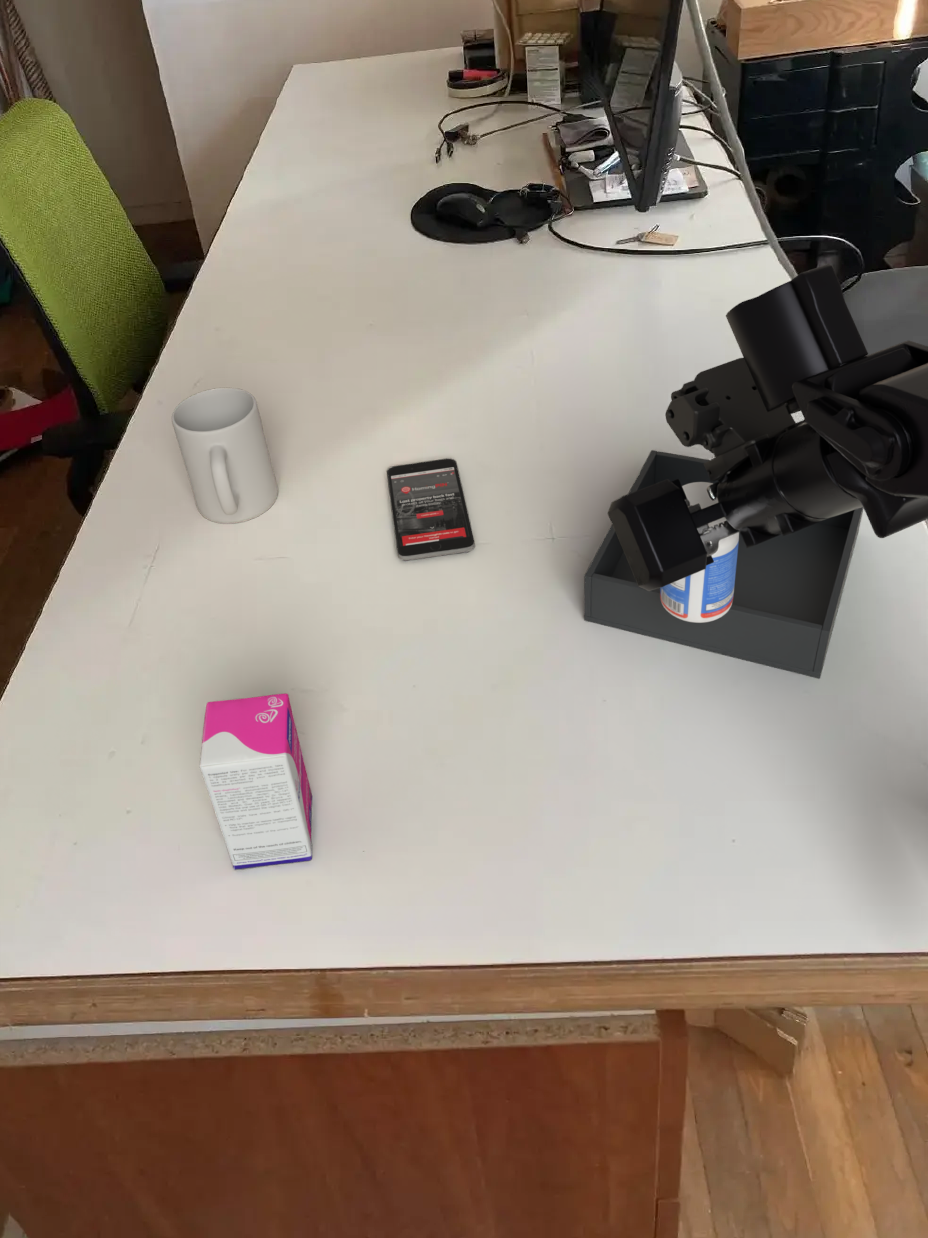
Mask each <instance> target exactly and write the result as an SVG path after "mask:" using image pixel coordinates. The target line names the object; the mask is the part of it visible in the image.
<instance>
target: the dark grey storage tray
mask: <svg viewBox="0 0 928 1238" xmlns="http://www.w3.org/2000/svg"><path fill="white" fill-rule="evenodd" d="M710 460H711V459H706V458H700V457H695V456H689V455H683V454H678V453H671V452H665V451H660V450H654V449H652V450H650V453H649V454H648V456H647V458H646V460H645V462H644V463H643V466H642V467H641V469H640V471H639V473H638V475H637V477H636V479H635V480H634V482H633V484H632V485H631V488H630V490H629V492H628V493H627V494H630V493H633V492H635V491H638V490H640V489H643V488H646V487H648V486H651V485H653V484H656V483H659V482H661V481H664V480H666V479H668V480H670V481H673V480H676V479H679V480H680V483H681V485H682V486H684V485H686V484H689V483H694V482H708V483H713V484H714V483H717V482H718V480H716V481H713V482H712V481H711V480H710V478H709V476H708V473H707V471H706V469H705V466H704V463H706V462H708V461H710ZM863 513H864V508H863V507H861V508H858V509H855V510H852V511H849V512H846V513H843V514H840V515H837V516H834V517H831V518H828V519H825V520H823V521H820V522H818V523H815V524H813V525H811V526H808V527H806V528H803V529H801V530H799V531H796V532H794V533H791V534H788V535H785V536H783V535H782V534H781V535H779V536H776V537H774V538H771V539H769V540H767V541H764V542H762V543H759V544H757V545H755V546H752V547H748V548H746V545H745V543H744V541H743V538H742V536H741V534H740V532H739V543H738V553H737V564H736V574H735V586H734V596H733V602H732V605H731V607H730V609H729V611H728V612H727V613H726V614H725V615H723V616H722V617H720V618H718V619H716V620H713V621H710V622H703V623H696V622H688V621H684V620H681V619H679V618H677V617H675V616H673V615H671V614H670V613H669V612H668V611H667V610H666V609H665V608H664V607H663V605H662V602H661V599H660V588H658V589H654V590H651V591H647V590H645V589H643V588H641V587H639V586H638V585H637V582H636V580H635V577H634V575H633V573H632V570H631V568H630V565H629V563H628V561H627V558H626V556H625V554H624V551H623V549H622V546H621V544H620V542H619V539H618V537H617V534H616V532H615V530H614V527H613V525H612V524H611V525H610V527H609V529H608V531H607V533H606V535H605V536H604V538H603V540H602V542H601V543H600V545H599V547H598V549H597V551H596V553H595V555H594V556H593V559H592V560H591V562H590V564H589V567H587V570H586V572H585V574H584V575H583V577H584V578H583V579H584V581H583V582H584V583H583V584H584V585H583V586H584V587H583V588H584V589H583V591H584V593H583V596H584V597H583V598H584V599H583V600H584V601H583V603H584V605H583V611H584V612H583V621H586V622H589V623H593V624H597V625H602V626H606V627H610V628H613V629H618V630H621V631H625V632H628V633H629V632H630V633H633V634H636V635H637V634H638V635H641V636H646V637H650V638H654V639H656V640H657V639H658V640H661V641H666V642H670V643H674V644H678V645H681V646H686V647H689V648H693V649H694V648H695V649H698V650H702V651H707V652H710V653H714V654H719V655H722V656H727V657H730V658H735V659H738V660H742V661H746V662H750V663H755V664H759V665H763V666H766V667H771V668H774V669H779V670H782V671H787V672H791V673H795V674H799V675H802V676H806V677H807V676H808V677H811V678H816V679H821V676H822V673H823V669H824V665H825V660H826V657H827V655H828V654H827V653H828V649H829V647H830V646H829V645H830V642H831V637H832V634H833V631H834V626H835V623H836V619H837V616H838V611H839V607H840V604H841V601H842V596H843V592H844V588H845V585H846V581H847V577H848V573H849V570H850V565H851V561H852V558H853V554H854V551H855V547H856V543H857V540H858V535H859V531H860V527H861V523H862V517H863Z"/></svg>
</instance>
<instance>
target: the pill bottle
mask: <svg viewBox="0 0 928 1238" xmlns="http://www.w3.org/2000/svg"><path fill="white" fill-rule="evenodd" d="M712 484H713V483H708V482H694V483H689V484H686V485H684V486H682V487H683V490H684V492H685V495H686V497H687V499H688V500H689V502H690V506H691V505H692V506H693V505H695V504H698V503H699V504H700V507H701V509H703V508H706V507H708V506H711V505H713V504H716V503H718V499H717V498H716V500H714V501H712V500H711V498H710V497H709V495H708V492H707V487H708V486H709V485H712ZM724 521H726V519H725V517H723V518H721V519H718V520H716V521H713V522H711V523H709V524H708V525H709V527H711V526H712V527H713V528H714V525H716V524H718V526H719V523H721V522H723V524H724ZM708 532H709V531H707V532H705V533H708ZM705 533H704V534H705ZM738 543H739V532H738V533H736V534H733V535H731V536H728V537H726V538H724V539H721V540H720V541H719V547H718V550H717V552H716V553H714V554H713V555H711V556H712V558H713V560H714V563H711V564H709V565H706V569H704V570H702V571H699V572H697V573H695V574H692V575H690V576H687V577H685V578H683V579H680V580H678V581H676V582H673V583H671V584H668V585H666V586H664V587H661V588H660V599H661V602H662V605H663V607H664V608H665V609H666V610H667V611H668V612H669V613H670V614H671V615H673V616H675V617H677V618H679V619H681V620H684V621H688V622H696V623H703V622H710V621H713V620H716V619H718V618H720V617H722V616H723V615H725V614H726V613H727V612H728V611H729V609H730V607H731V605H732V602H733V596H734V586H735V574H736V564H737V553H738Z"/></svg>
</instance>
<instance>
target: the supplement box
mask: <svg viewBox="0 0 928 1238" xmlns="http://www.w3.org/2000/svg"><path fill="white" fill-rule="evenodd" d="M203 718H204V719H203V728H202V737H201V746H200V757H199V770H200V773H201V775H202V778H203V780H204V784H205V788H206V789H207V794H208V796H209V799H210V802H211V805H212V808H213V811H214V813H215V816H216V819H217V823H218V827H219V829H220V831H221V834H222V837H223V840H224V843H225V846H226V849H227V852H228V855H229V858H230V861H231V865H232V869H233V870H234V871H240V870H248V869H254V868H255V869H256V868H263V867H271V866H279V865H289V864H295V863H296V864H297V863H304V862H310V861H312V859H313V845H312V815H313V813H312V811H313V810H312V809H313V795H312V794H313V793H312V789H311V786H310V785H311V784H310V781H309V776H308V772H307V768H306V763H305V759H304V756H303V751H302V747H301V742H300V739H299V734H298V730H297V726H296V723H295V718H294V713H293V709H292V705H291V701H290V696H289V693H288V692H287V693H286V692H285V693H275V694H268V695H260V696H253V697H252V696H251V697H246V698H245V697H243V698H235V699H223V700H214V701H207V702H206V706H205V711H204V717H203Z"/></svg>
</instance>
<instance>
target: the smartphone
mask: <svg viewBox="0 0 928 1238" xmlns="http://www.w3.org/2000/svg"><path fill="white" fill-rule="evenodd" d="M386 477H387V483H388V491H389V497H390V498H389V500H390V507H391V515H392V521H393V523H392V524H393V529H394V530H393V531H394V537H395V545H396V552H397V553H396V554H397V557H398V559H400V560H401V561H415V560H421V559H428V558H434V557H443V556H448V555H455V554H463V553H469V552H471V551H473V550H474V549H475V547H476V543H475V539H474V537H475V536H474V533H473V529H472V524H471V519H470V515H469V510H468V507H467V502H466V498H465V493H464V489H463V485H462V481H461V476H460V471H459V467H458V463H457V460H456V459H454V458H452V457H446V458H440V459H433V460H426V461H419V462H413V463H405V464H399V465H398V464H397V465H391V466H389V467H388V468H387V469H386Z"/></svg>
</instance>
